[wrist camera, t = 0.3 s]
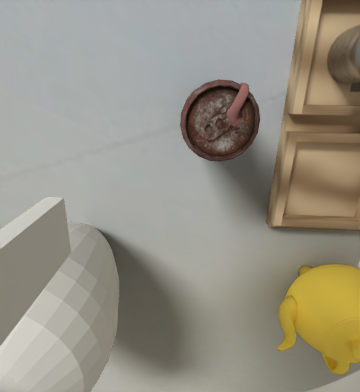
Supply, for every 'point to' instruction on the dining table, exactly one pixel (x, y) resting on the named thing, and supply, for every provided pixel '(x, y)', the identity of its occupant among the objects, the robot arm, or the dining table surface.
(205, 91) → the can
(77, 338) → the vase
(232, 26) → the dining table surface
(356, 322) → the teapot
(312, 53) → the tray
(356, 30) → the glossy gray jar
